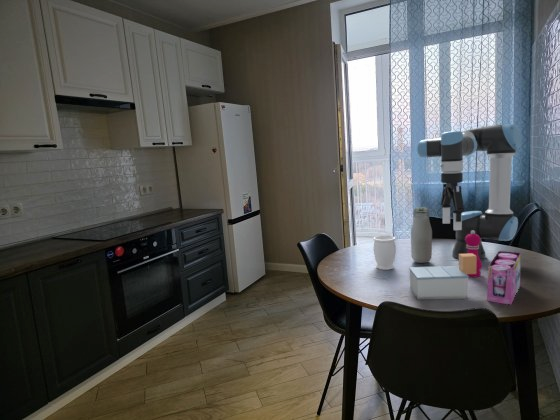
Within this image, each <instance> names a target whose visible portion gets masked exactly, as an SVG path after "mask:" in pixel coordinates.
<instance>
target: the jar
mask: <svg viewBox="0 0 560 420" xmlns="http://www.w3.org/2000/svg"><path fill="white" fill-rule="evenodd" d="M373 241H374V243H373V255H374V260H375V262H376V268H377V269H378V270H384V271H387V270H393V269H394V268H395V266H394V264H395V263H394V262H395V261H396V260H395V259H396V254H397V253H396V252H397V251H396V250H397V248H396V242H395V241H396V237H395V236H392V235H376V236H374V237H373Z"/></svg>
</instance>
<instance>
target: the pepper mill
mask: <svg viewBox="0 0 560 420" xmlns="http://www.w3.org/2000/svg"><path fill="white" fill-rule="evenodd" d="M480 241H481V239H480V237H479V236H478V235H477V234H475V231H474V230H472V231H471V234H468V235H467V236H466V237H465V242H466V243H467V245H466V246H467V247H466V248H467V249H468V253H473V254H474V255H476V256H477V264H476V274H467V275H468V276H469V277H470V278H478V277H481V273H482V271H481V269H482V268H483V264H482V263H483V262H482V261H481V260H480V258H479V256H478V249H479V245H478V244H479V243H480Z"/></svg>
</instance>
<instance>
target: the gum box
mask: <svg viewBox="0 0 560 420" xmlns="http://www.w3.org/2000/svg"><path fill="white" fill-rule="evenodd" d="M521 255H522V253H521V252H515V251H507V250H506V251H505V250H499V251H497V253H496V255H495V256H494V258H492V260H491V261H490V262H489V264H488V267H487V269H488V271H487V290H486V301H487V302H492V303H496V304H504V305H508V304H510V306H512V303H513V302H514V300H515V298H516V296H517V294H518V291H519V290H520V288H521V257H522V256H521ZM518 289H519V290H518ZM516 293H517V294H516ZM515 295H516V296H515ZM514 297H515V298H514Z"/></svg>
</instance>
